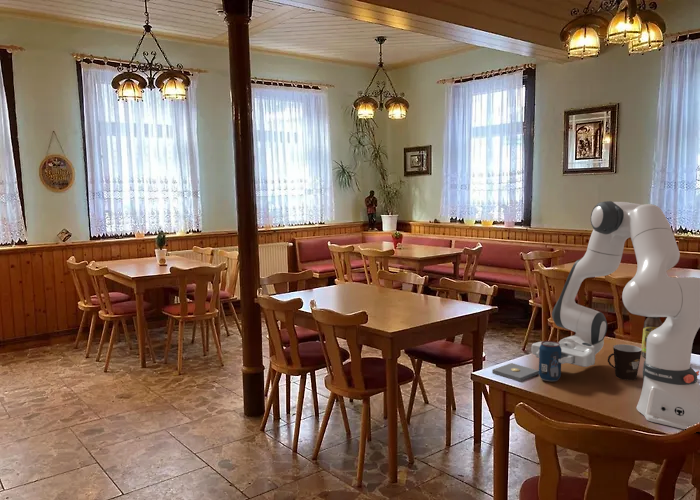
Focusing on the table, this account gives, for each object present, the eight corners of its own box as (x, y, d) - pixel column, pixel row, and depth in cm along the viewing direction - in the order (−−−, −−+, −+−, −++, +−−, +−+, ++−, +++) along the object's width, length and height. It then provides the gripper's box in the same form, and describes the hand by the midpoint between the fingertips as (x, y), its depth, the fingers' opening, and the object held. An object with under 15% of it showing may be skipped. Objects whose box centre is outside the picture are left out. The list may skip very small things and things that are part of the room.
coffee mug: (634, 372, 197) (635, 344, 195) (644, 381, 188) (646, 352, 187) (599, 372, 198) (600, 344, 197) (607, 380, 189) (609, 351, 188)
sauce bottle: (642, 358, 212) (645, 306, 209) (640, 354, 217) (642, 302, 215) (661, 360, 209) (664, 307, 207) (659, 355, 215) (662, 303, 213)
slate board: (538, 374, 196) (538, 370, 196) (519, 381, 190) (519, 377, 189) (511, 366, 205) (511, 362, 205) (492, 373, 198) (492, 369, 198)
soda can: (546, 373, 195) (546, 339, 194) (564, 378, 190) (565, 343, 188) (534, 378, 191) (535, 343, 189) (553, 383, 185) (554, 347, 184)
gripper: (544, 335, 205) (521, 342, 196) (599, 347, 189) (577, 355, 181) (544, 352, 206) (521, 360, 197) (599, 365, 190) (577, 375, 181)
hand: (548, 358), depth 189 cm, fingers closed on soda can, 7 cm apart
